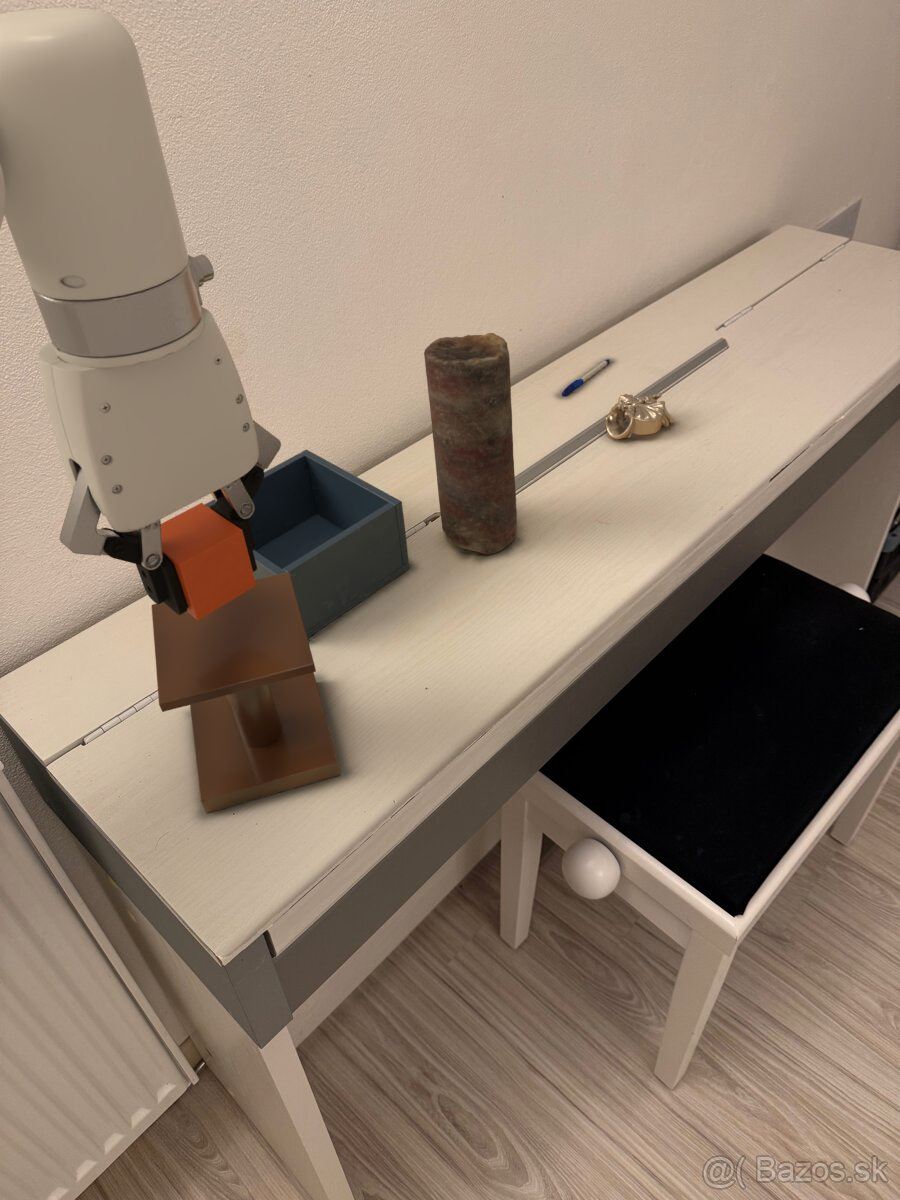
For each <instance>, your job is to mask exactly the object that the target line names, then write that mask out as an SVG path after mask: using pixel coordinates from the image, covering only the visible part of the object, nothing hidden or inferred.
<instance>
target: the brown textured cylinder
mask: <svg viewBox="0 0 900 1200" xmlns="http://www.w3.org/2000/svg"><path fill="white" fill-rule="evenodd" d="M423 355H424V357H423V358H424V365H425V366H424V367H425V375H426V382H427V391H428V392H427V393H428V402H429V410H430V420H431V431H432V440H433V450H434V451H433V452H434V461H435V463H434V464H435V473H436V482H437V483H436V484H437V493H438V503H439V511H440V513H439V514H440V521H441V528H442V531H443V533H444V535H445V537H446V538H447V539H448V540H449V541H451V542H452V543H454V544H455V546H457V547H458V548H460V549H464V550H468V551H471V552H476V553H480V554H482V555H493V554H496V553H498V552H501V551H502V550H503V549H505V548H506V547H507V546H509V544H511V543H512V542H513V541H514V540H515V539H516V535H517V530H518V517H517V516H518V515H517V514H518V513H517V493H516V475H515V458H514V434H513V409H512V408H513V407H512V388H511V386H512V385H511V384H512V383H511V363H510V362H511V361H510V351H509V349H508V342H507V341H506V340H505V339H504V338H503V337H501V336H500V335H497V334H496V333H494V332H488V333H486V334H472V335H471V334H467V335H464V336H453V337H451V336H444V337H438V338H437V339H435V340H434V341H432V342H431V343H430V344H429V345H428V346H426V348H425V349H424V352H423Z"/></svg>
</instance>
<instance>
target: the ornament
mask: <svg viewBox="0 0 900 1200" xmlns="http://www.w3.org/2000/svg"><path fill="white" fill-rule="evenodd" d="M661 397H662V392H657V393H654V394H650V395H649V396H646V395H645V396H643V397H642V396H636V397H634V395H633V394H628V393H625V394H620V396H618V398H617V399H618V402H616V403H615V404H614V405H613V406H612V407H611V409H610V411H609V413H608V416H607V417H605V419H604V427H605V430H606V433H607V435H608V436H609V437H610V438H612V439H614V440H621V439H629V438H631V437H632V434H635V435H641V436H642V435H653V434H656V433H657V432H659V431H660V430H661V429H662V427H666V428H667V427H669V425H671V424H673V423H674V422H675V419H674V418H673V417H672V415H671V414H670V413H669V412H668V410H667V407H666V402H665V400H660V401H657V400H659V399H660V398H661ZM625 420H627V421H628V422H629V423H628V425H627V427H626V428H624V421H625Z"/></svg>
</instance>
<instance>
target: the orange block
mask: <svg viewBox="0 0 900 1200" xmlns="http://www.w3.org/2000/svg"><path fill="white" fill-rule="evenodd" d="M161 537H162V552H163V555H164V556H165V557H167V558H168V559H169V560H171V561H172V563H173V564H174V566H175V569H176V572H177V575H178V578H179V581H180V584H181V587H182V590H183V593H184V596H185V599H186V602H187V605H188V608H187V612H188V613H189V614H190V615H192V616H193V617H194V618H195V619H197V620H200V619H202V618H203V617H205V616H207V615H208V614H210V613H212V612H213V611H215V610H217V609H218V608H220V607H222V606H223V605H225V604H227V603H228V602H230V601H231V600H233V599H235V598H236V597H238V596H240V595H241V594H243V593H245V592H246V591H248V590H250V589H251V588H253V587H255V586H256V582H255V578H254V574H253V570H252V566H251V562H250V558H249V554H248V550H247V546H246V542H245V539H244V535H243V531H242V530H241V529H240V528H238V527H237V526H235V525H234V524H232V523H231V522H229V521H228V520H227V519H225V518H224V517H222V516H221V515H219V514H218V513H216V512H215V511H213V510H212V509H210V508H209V507H207V506H206V505H205V504H204V503H203V502H200V503H198V504H196V505H194V506H193V507H191V508H188V509H187V510H185V511H183V512H181V513H179V514H177V515H175V516H173V517H171V518H169V519H168V520H166V521H164V522H162V523H161Z"/></svg>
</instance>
